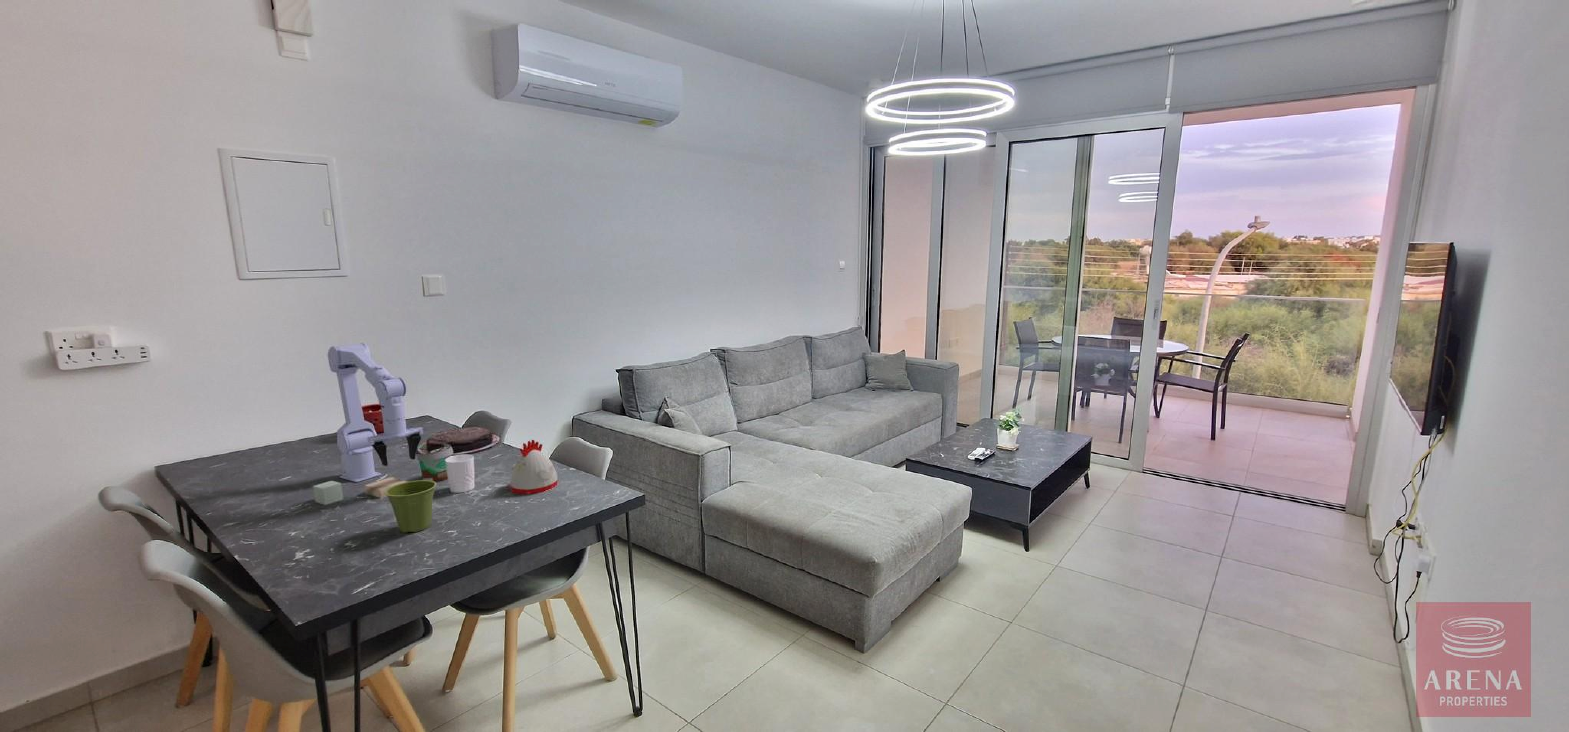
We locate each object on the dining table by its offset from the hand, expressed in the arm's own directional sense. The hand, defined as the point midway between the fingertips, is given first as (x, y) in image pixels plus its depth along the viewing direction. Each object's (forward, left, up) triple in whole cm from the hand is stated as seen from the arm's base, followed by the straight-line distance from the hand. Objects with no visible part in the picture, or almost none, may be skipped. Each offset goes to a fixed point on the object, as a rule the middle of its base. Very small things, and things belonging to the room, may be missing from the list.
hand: (399, 461), depth 189 cm
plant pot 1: (-69, +32, -10) cm, 77 cm away
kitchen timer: (+32, +22, -10) cm, 40 cm away
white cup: (+14, +10, -10) cm, 20 cm away
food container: (0, +13, -10) cm, 17 cm away
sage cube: (-13, -14, -10) cm, 22 cm away
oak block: (-5, -2, -10) cm, 12 cm away
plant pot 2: (+28, -14, -10) cm, 32 cm away
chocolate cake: (-28, +39, -11) cm, 49 cm away
